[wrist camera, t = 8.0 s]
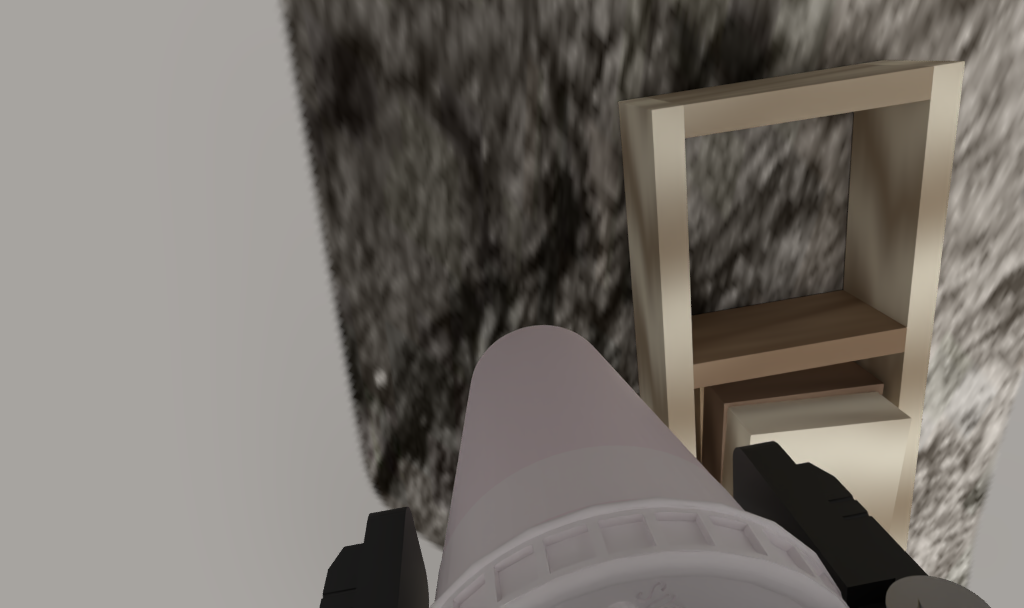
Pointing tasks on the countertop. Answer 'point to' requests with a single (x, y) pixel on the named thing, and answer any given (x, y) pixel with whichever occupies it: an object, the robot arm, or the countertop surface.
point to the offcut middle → (774, 399)
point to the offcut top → (831, 442)
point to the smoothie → (599, 499)
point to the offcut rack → (869, 243)
